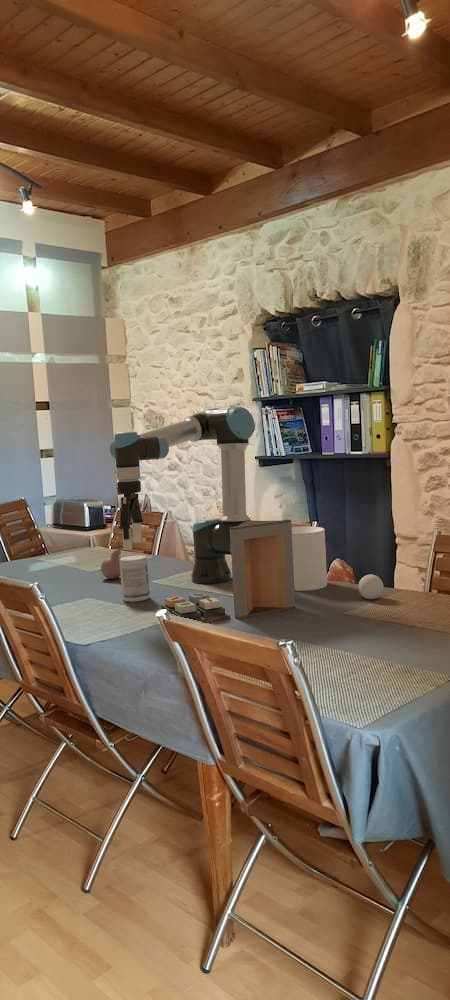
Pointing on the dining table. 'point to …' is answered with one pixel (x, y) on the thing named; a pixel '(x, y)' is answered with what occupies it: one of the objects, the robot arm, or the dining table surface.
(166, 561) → the dining table surface
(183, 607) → the key sage
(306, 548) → the canister
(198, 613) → the keypad board
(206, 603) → the key cream
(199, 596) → the key slate
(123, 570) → the supplement tub
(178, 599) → the key terracotta
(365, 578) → the ball
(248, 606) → the cabinet
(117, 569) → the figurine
